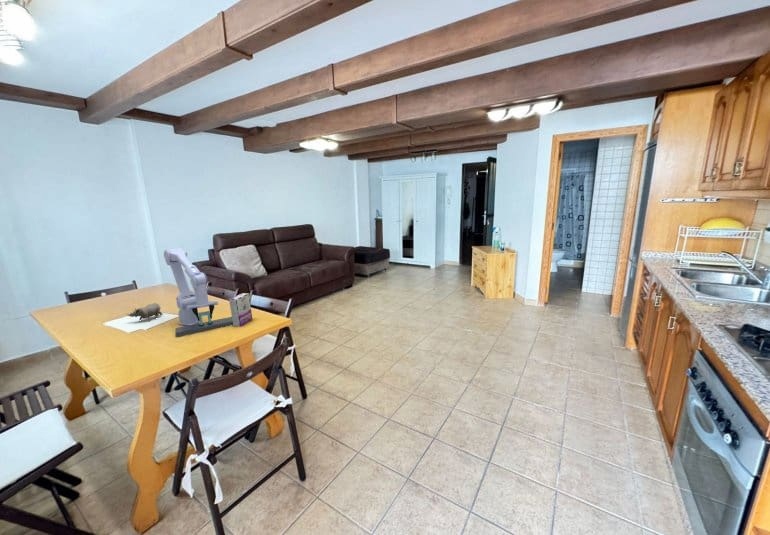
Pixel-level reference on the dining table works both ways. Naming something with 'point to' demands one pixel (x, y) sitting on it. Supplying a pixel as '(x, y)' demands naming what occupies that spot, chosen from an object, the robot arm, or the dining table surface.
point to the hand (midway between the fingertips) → (205, 319)
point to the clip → (204, 315)
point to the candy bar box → (240, 309)
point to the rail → (203, 327)
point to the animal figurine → (147, 311)
